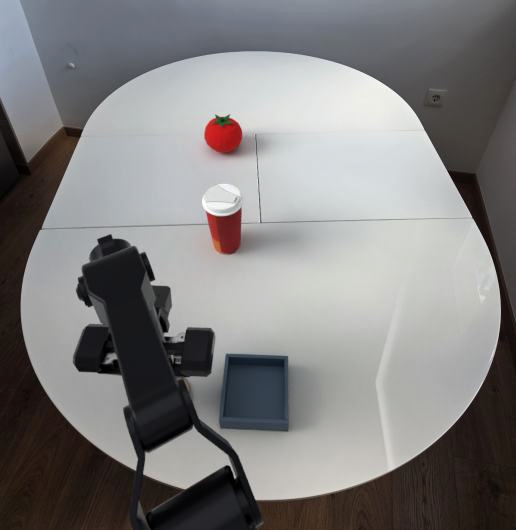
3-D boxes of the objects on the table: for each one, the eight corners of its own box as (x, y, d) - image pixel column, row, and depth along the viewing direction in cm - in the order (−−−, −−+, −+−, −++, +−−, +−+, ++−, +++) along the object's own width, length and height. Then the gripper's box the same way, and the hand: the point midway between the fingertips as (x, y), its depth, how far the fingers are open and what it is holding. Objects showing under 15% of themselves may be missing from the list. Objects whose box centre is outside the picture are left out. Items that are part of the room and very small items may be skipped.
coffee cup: (251, 235, 97) (249, 187, 87) (236, 263, 92) (233, 215, 81) (217, 225, 99) (211, 177, 89) (201, 252, 94) (193, 204, 84)
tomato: (217, 133, 125) (214, 103, 119) (249, 142, 122) (248, 112, 115) (198, 153, 119) (194, 124, 112) (232, 164, 115) (230, 134, 108)
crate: (287, 431, 68) (288, 424, 66) (220, 428, 68) (218, 420, 66) (287, 364, 76) (288, 355, 73) (226, 362, 76) (225, 353, 74)
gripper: (215, 272, 60) (223, 328, 71) (85, 268, 61) (111, 324, 72) (204, 348, 52) (215, 398, 63) (54, 342, 53) (89, 393, 64)
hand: (156, 374), depth 66 cm, fingers closed on can, 6 cm apart
